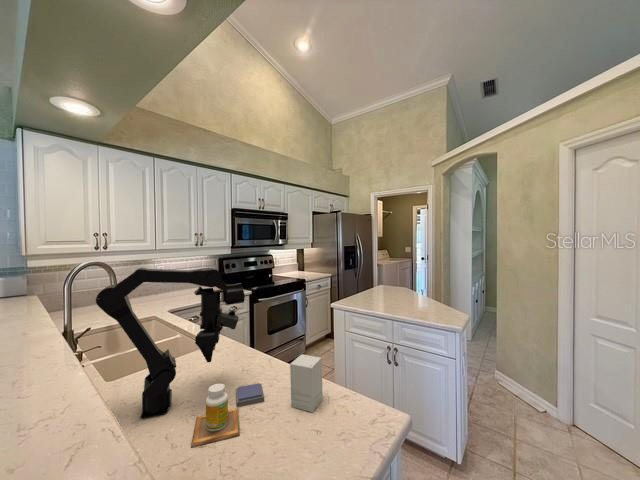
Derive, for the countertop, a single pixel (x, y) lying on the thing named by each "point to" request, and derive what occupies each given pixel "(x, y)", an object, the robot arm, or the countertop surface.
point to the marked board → (206, 437)
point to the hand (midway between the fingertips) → (211, 355)
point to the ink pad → (249, 395)
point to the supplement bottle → (216, 408)
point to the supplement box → (306, 382)
